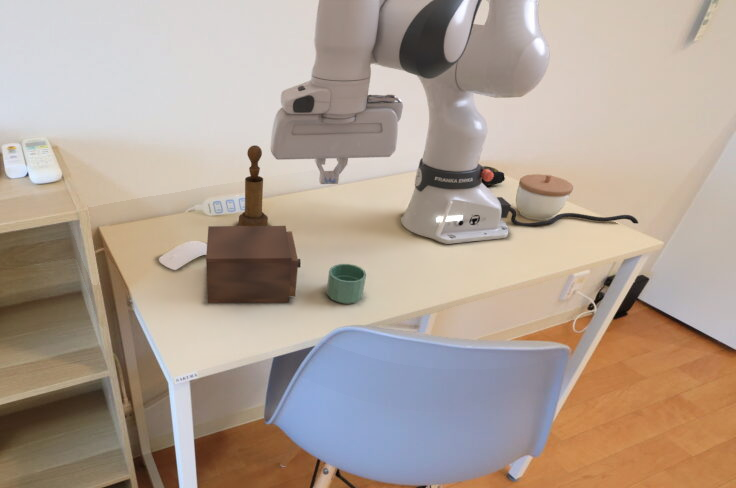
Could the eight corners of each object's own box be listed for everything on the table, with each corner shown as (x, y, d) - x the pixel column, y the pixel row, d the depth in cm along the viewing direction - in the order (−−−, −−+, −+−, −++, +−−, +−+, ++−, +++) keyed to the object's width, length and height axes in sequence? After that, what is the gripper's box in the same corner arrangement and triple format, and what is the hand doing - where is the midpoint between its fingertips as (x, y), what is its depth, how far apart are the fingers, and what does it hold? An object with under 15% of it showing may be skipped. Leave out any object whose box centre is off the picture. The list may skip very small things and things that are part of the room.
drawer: (295, 265, 102) (298, 231, 98) (301, 296, 93) (305, 260, 89) (221, 265, 103) (220, 231, 98) (220, 297, 94) (219, 261, 89)
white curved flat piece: (154, 259, 107) (153, 249, 105) (201, 242, 112) (201, 232, 111) (173, 272, 102) (172, 261, 101) (220, 253, 108) (220, 243, 107)
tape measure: (481, 190, 133) (485, 176, 131) (463, 181, 138) (467, 167, 136) (502, 186, 135) (507, 172, 133) (483, 177, 140) (488, 163, 138)
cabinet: (282, 267, 103) (285, 225, 98) (288, 302, 93) (291, 257, 88) (209, 268, 104) (208, 226, 98) (207, 303, 94) (206, 258, 88)
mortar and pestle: (268, 221, 120) (271, 141, 109) (267, 233, 115) (270, 151, 104) (239, 220, 121) (240, 141, 110) (237, 232, 116) (237, 151, 105)
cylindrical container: (358, 286, 98) (362, 263, 95) (365, 305, 93) (369, 282, 90) (324, 286, 98) (326, 263, 95) (329, 305, 93) (332, 282, 90)
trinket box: (536, 228, 116) (552, 187, 110) (499, 210, 123) (512, 171, 118) (570, 219, 119) (588, 179, 113) (532, 202, 127) (546, 164, 121)
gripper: (399, 89, 83) (383, 174, 91) (271, 92, 82) (268, 177, 91) (411, 99, 78) (394, 188, 86) (275, 102, 77) (271, 191, 86)
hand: (328, 182), depth 89 cm, fingers closed
